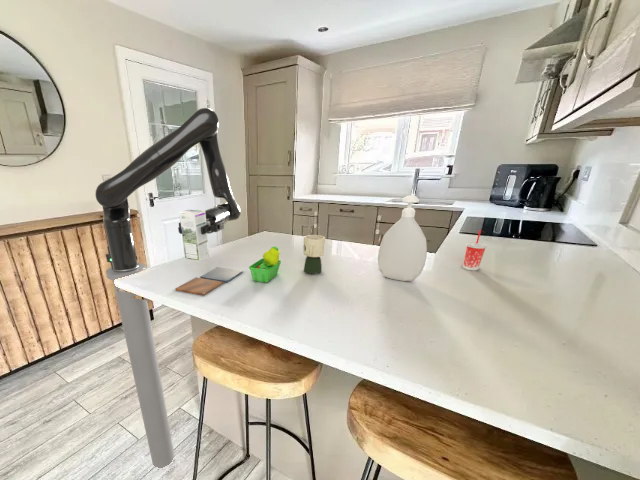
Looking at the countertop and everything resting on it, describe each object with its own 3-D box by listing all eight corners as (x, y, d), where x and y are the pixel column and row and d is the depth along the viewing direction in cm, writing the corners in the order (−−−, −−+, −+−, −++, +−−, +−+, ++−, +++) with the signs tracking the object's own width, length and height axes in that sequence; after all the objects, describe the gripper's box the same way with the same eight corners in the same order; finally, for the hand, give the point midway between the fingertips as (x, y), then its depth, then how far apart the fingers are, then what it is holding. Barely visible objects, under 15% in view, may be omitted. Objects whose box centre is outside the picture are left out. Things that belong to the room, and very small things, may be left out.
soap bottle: (424, 278, 103) (441, 194, 92) (419, 285, 97) (436, 197, 86) (379, 270, 111) (390, 192, 101) (372, 277, 105) (383, 195, 95)
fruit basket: (262, 271, 113) (262, 241, 109) (284, 274, 110) (285, 243, 105) (248, 281, 104) (247, 249, 99) (272, 285, 100) (272, 251, 96)
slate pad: (200, 278, 108) (200, 276, 107) (217, 268, 117) (217, 267, 117) (227, 282, 103) (227, 281, 103) (242, 272, 112) (242, 271, 112)
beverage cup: (465, 264, 115) (475, 227, 109) (484, 268, 110) (494, 230, 105) (456, 267, 112) (466, 229, 107) (475, 272, 107) (485, 232, 102)
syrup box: (210, 255, 98) (206, 209, 93) (199, 261, 93) (194, 212, 88) (195, 253, 101) (191, 208, 95) (184, 258, 96) (178, 211, 90)
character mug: (306, 267, 116) (307, 233, 111) (325, 268, 114) (327, 234, 109) (299, 276, 107) (300, 240, 102) (319, 278, 105) (321, 241, 100)
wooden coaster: (175, 290, 98) (175, 288, 98) (196, 278, 107) (195, 277, 107) (204, 295, 94) (203, 293, 93) (223, 283, 103) (222, 281, 102)
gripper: (191, 208, 106) (167, 217, 92) (230, 209, 103) (212, 218, 88) (193, 230, 109) (170, 242, 95) (231, 231, 106) (214, 244, 91)
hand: (191, 230), depth 91 cm, fingers closed on syrup box, 6 cm apart
